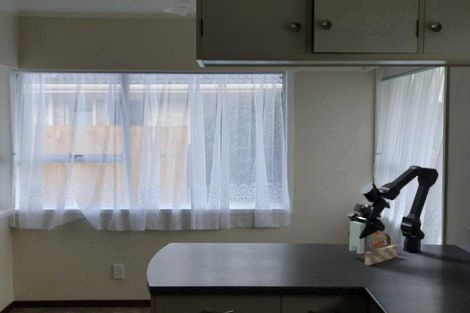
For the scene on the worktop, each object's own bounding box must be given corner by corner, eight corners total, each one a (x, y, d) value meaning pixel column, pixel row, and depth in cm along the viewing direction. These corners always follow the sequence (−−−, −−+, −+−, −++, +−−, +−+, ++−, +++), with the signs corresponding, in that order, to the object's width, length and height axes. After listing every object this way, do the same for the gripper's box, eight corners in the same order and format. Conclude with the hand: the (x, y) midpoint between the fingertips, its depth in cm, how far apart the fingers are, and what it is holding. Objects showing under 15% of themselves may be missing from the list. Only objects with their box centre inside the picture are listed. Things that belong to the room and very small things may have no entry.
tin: (364, 245, 238) (365, 228, 238) (369, 245, 239) (370, 227, 239) (386, 253, 225) (387, 234, 224) (391, 252, 226) (392, 234, 225)
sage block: (353, 249, 218) (354, 221, 217) (363, 253, 212) (364, 223, 211) (349, 250, 217) (350, 221, 216) (359, 253, 211) (360, 224, 210)
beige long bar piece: (392, 255, 220) (393, 244, 219) (397, 256, 218) (397, 245, 218) (364, 264, 205) (365, 252, 205) (369, 265, 204) (369, 253, 203)
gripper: (351, 194, 223) (330, 220, 219) (380, 200, 206) (358, 228, 202) (364, 210, 227) (344, 236, 223) (394, 217, 210) (373, 246, 206)
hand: (354, 236), depth 213 cm, fingers closed on sage block, 6 cm apart
